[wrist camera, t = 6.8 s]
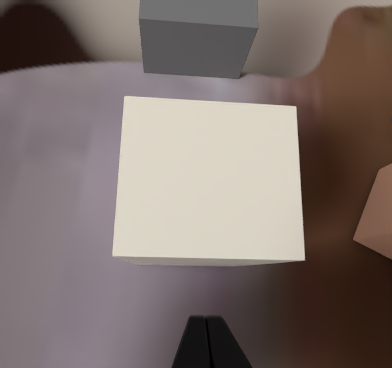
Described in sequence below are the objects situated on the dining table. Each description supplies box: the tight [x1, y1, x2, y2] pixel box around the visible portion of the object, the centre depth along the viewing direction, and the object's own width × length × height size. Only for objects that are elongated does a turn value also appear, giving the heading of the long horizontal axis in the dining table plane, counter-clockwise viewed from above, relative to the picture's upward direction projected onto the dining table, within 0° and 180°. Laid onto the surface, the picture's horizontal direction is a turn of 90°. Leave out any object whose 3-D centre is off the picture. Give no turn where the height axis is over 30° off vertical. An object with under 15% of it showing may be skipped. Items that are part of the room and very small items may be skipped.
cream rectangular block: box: [112, 96, 305, 267], centre depth 12 cm, size 4×4×8 cm
